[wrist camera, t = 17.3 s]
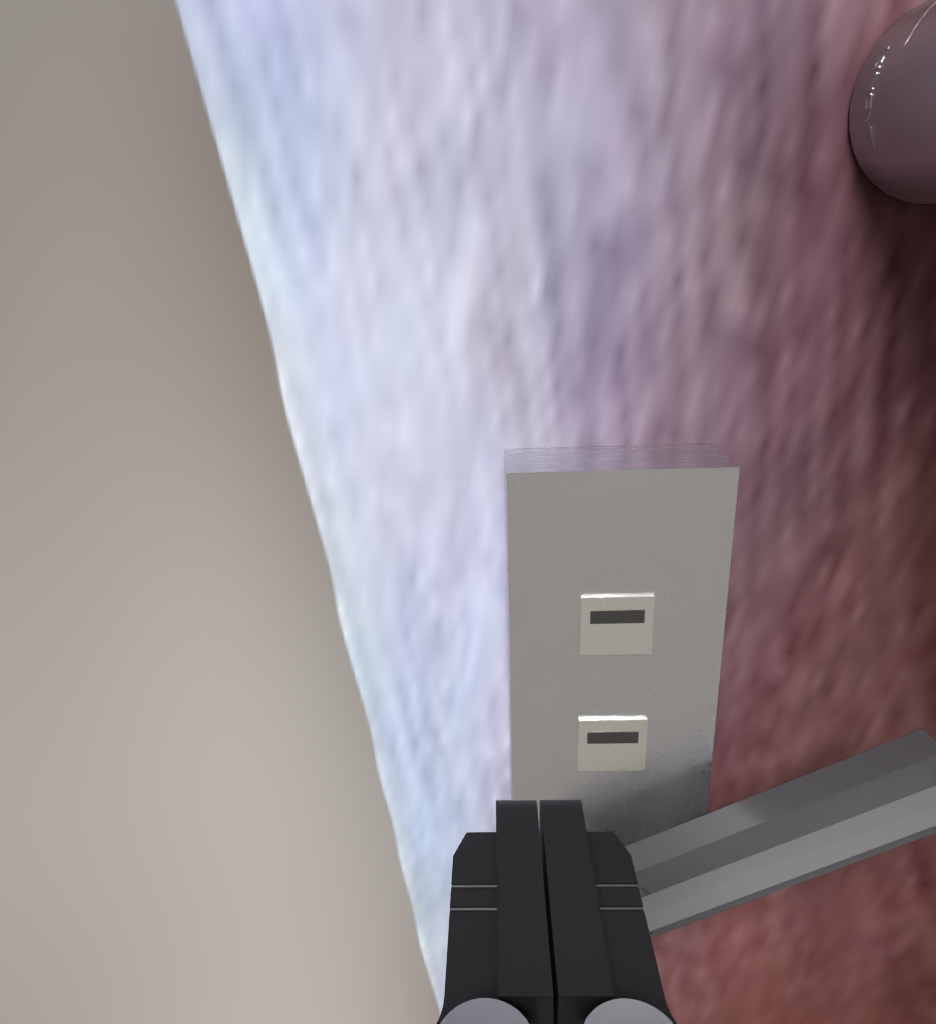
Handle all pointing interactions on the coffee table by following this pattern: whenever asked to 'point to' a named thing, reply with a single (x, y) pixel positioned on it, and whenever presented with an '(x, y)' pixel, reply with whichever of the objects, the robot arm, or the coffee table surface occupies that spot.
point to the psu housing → (617, 627)
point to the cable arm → (789, 833)
